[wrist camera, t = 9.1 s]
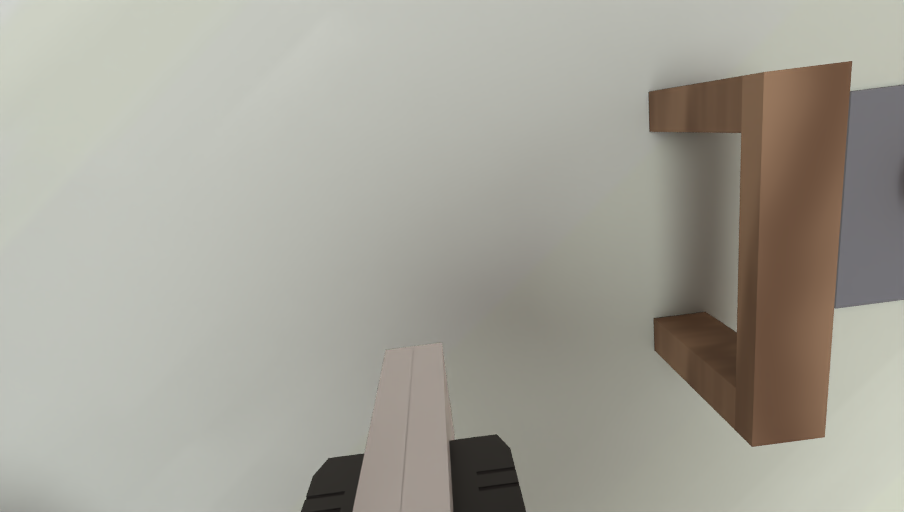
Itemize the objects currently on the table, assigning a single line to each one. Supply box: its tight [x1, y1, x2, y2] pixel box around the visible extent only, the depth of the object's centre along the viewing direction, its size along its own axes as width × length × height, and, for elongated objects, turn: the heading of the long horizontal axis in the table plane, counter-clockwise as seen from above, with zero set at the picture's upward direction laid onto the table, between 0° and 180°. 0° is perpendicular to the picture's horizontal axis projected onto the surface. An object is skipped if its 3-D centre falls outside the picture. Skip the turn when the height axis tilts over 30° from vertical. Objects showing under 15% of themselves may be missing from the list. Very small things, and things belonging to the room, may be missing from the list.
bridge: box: [649, 61, 852, 447], centre depth 23 cm, size 3×14×9 cm, turn 7°
